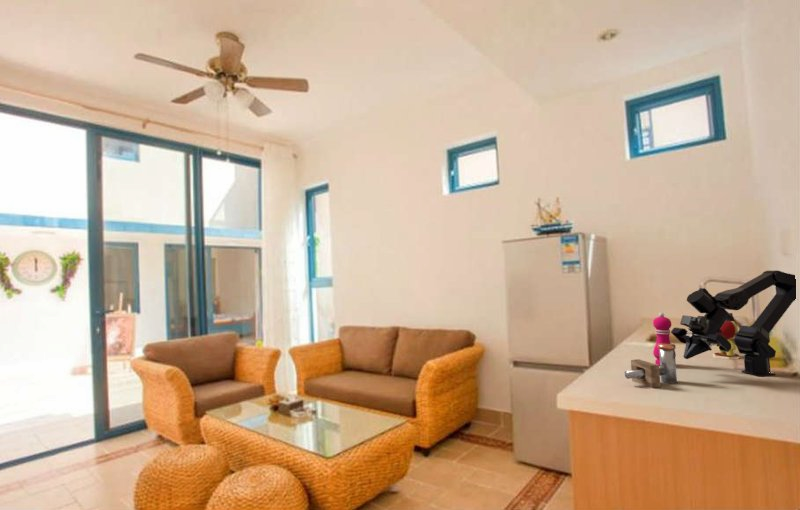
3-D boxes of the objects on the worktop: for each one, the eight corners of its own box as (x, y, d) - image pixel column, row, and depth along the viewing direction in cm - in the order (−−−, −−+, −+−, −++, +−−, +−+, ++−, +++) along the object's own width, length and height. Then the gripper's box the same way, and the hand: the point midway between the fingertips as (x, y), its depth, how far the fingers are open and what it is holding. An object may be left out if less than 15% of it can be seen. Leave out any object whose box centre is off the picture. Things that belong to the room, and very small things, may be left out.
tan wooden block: (640, 380, 141) (638, 359, 142) (660, 387, 132) (658, 364, 133) (632, 380, 141) (630, 359, 141) (652, 388, 132) (650, 365, 132)
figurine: (747, 358, 163) (744, 319, 164) (722, 359, 163) (719, 321, 164) (730, 354, 172) (727, 317, 173) (706, 355, 172) (703, 318, 172)
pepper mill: (680, 367, 155) (676, 313, 156) (658, 367, 156) (654, 313, 157) (671, 363, 162) (667, 311, 163) (651, 363, 163) (647, 311, 164)
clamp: (669, 378, 141) (667, 342, 141) (682, 382, 136) (679, 345, 136) (622, 383, 138) (620, 346, 139) (633, 387, 133) (630, 349, 134)
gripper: (673, 304, 150) (648, 337, 148) (720, 309, 131) (692, 347, 129) (694, 325, 151) (669, 358, 149) (744, 332, 132) (716, 370, 130)
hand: (685, 358), depth 139 cm, fingers closed
